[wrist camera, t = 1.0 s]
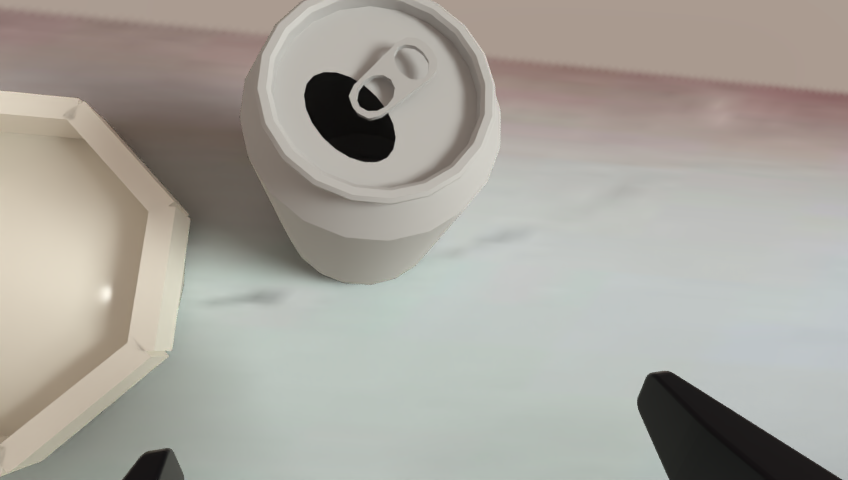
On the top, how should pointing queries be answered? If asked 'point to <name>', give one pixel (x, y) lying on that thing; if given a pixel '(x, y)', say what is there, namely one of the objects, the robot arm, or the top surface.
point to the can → (369, 131)
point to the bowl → (77, 271)
